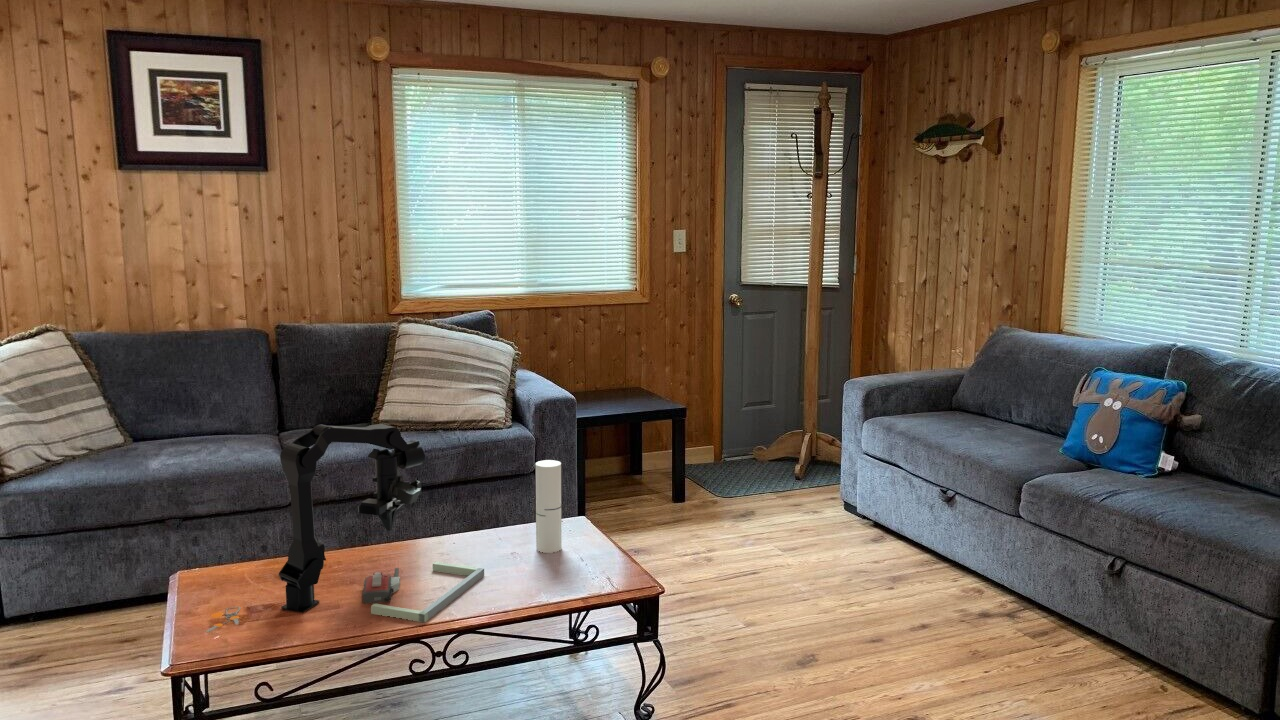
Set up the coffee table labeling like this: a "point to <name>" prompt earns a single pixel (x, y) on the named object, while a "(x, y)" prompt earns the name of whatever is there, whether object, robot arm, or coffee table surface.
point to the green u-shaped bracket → (430, 611)
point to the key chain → (230, 616)
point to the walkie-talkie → (380, 587)
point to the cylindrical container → (548, 506)
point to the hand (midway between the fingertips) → (389, 530)
